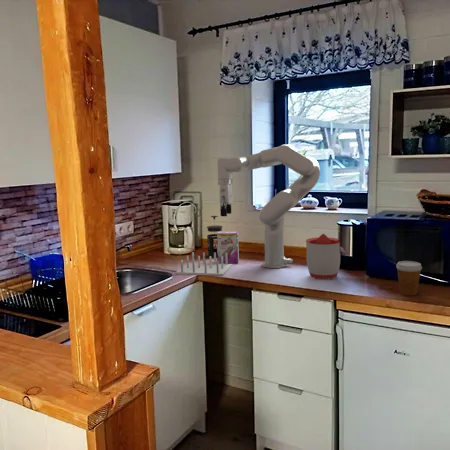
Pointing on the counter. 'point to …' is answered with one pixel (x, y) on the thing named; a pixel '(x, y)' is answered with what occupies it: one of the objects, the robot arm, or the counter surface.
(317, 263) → the citrus juicer
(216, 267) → the dish rack
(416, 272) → the disposable coffee cup
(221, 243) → the candy bar box
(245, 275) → the counter surface
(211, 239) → the french press
